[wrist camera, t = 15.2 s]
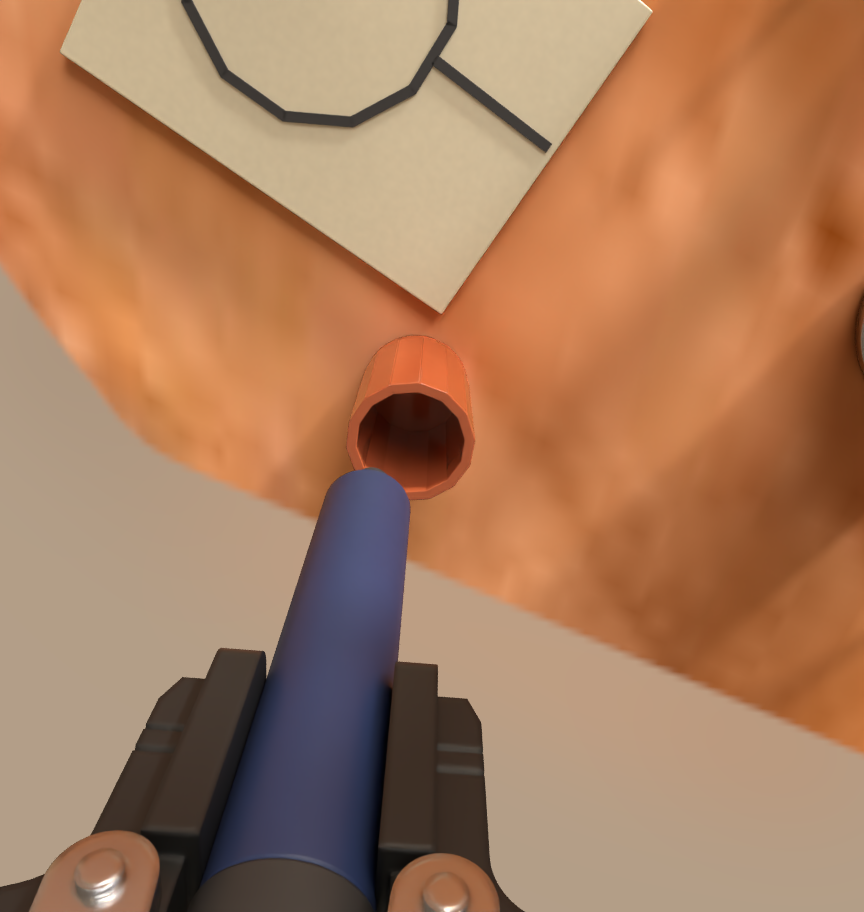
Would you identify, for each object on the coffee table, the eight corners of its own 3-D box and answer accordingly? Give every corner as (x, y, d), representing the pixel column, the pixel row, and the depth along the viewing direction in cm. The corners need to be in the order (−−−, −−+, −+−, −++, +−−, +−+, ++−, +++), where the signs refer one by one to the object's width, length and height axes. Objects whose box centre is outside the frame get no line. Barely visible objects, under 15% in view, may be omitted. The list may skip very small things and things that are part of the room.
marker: (430, 472, 20) (413, 1004, 8) (384, 534, 21) (301, 1107, 9) (359, 427, 20) (220, 918, 8) (314, 492, 21) (120, 1035, 8)
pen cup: (489, 372, 35) (499, 427, 28) (428, 452, 36) (426, 522, 30) (402, 313, 34) (393, 357, 27) (344, 399, 35) (322, 459, 29)
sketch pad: (649, 13, 29) (654, 11, 28) (441, 312, 34) (441, 315, 33) (236, -340, 25) (230, -352, 24) (65, 53, 30) (57, 52, 29)
